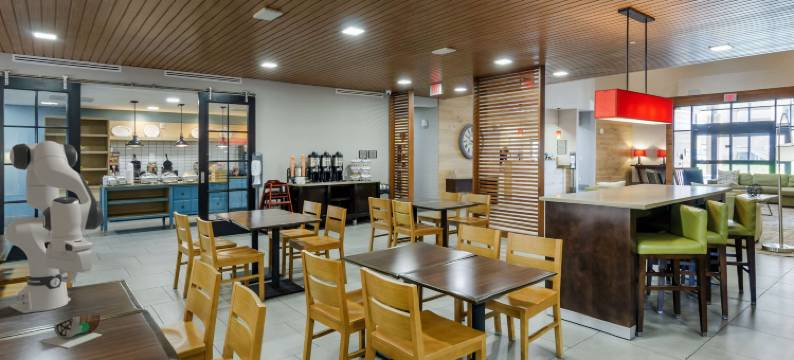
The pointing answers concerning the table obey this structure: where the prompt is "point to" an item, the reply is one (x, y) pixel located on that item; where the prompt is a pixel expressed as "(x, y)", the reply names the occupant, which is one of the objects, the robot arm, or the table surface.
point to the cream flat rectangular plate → (72, 339)
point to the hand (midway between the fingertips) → (68, 282)
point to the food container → (77, 326)
